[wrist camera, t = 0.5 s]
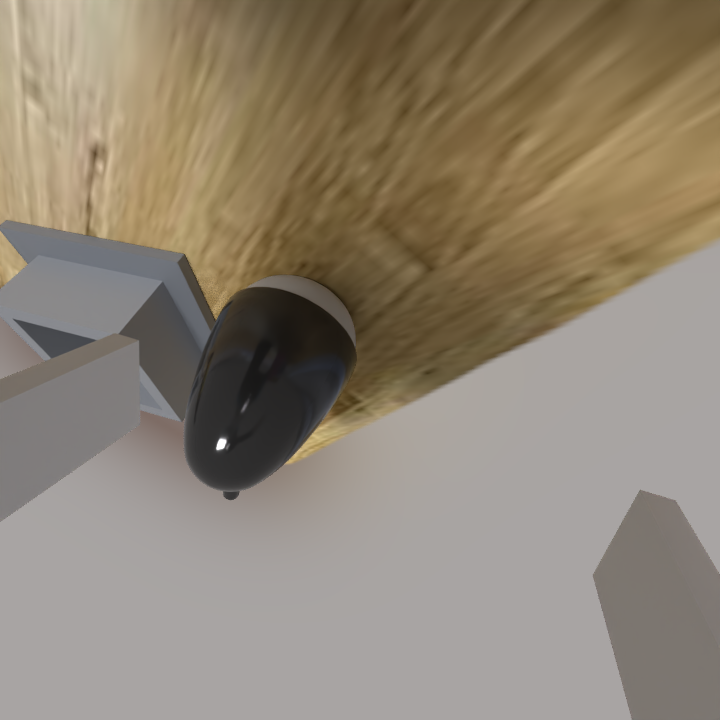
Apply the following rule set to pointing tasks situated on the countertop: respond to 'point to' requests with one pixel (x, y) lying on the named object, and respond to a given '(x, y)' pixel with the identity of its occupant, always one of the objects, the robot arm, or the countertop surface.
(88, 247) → the bottle holder
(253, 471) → the pump dispenser
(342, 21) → the countertop surface
